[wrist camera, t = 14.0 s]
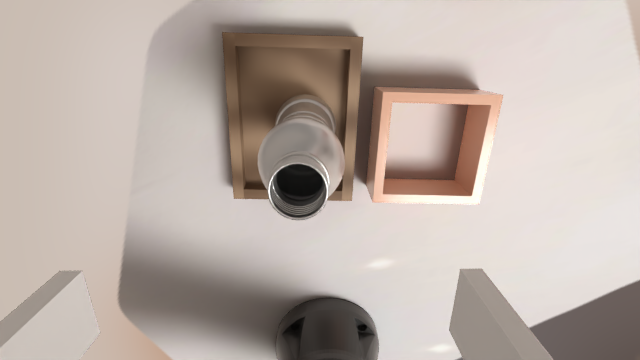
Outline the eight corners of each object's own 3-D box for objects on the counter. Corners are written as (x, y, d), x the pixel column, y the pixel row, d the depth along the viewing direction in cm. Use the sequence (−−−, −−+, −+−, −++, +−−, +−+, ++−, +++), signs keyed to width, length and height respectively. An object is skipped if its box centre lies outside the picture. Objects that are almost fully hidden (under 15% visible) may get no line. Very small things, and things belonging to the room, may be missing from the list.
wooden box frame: (460, 187, 42) (478, 204, 37) (366, 185, 42) (372, 202, 37) (479, 89, 38) (503, 95, 33) (374, 86, 37) (383, 91, 33)
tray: (349, 192, 42) (351, 200, 40) (238, 190, 42) (233, 198, 39) (360, 37, 36) (363, 36, 33) (228, 33, 35) (222, 32, 33)
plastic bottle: (335, 91, 37) (356, 133, 18) (333, 150, 39) (351, 242, 20) (276, 91, 36) (236, 133, 18) (278, 150, 39) (246, 242, 20)
